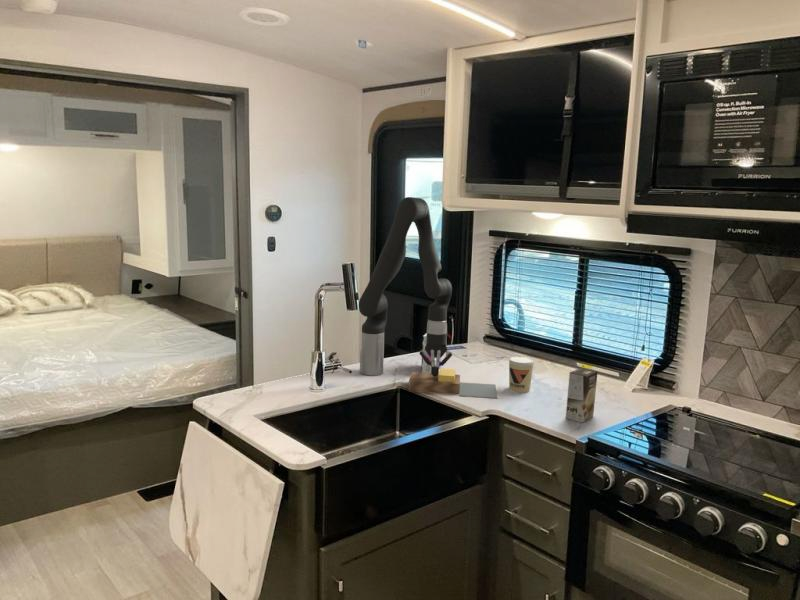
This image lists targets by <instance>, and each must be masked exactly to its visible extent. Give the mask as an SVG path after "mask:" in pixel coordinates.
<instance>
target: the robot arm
mask: <svg viewBox="0 0 800 600" xmlns="http://www.w3.org/2000/svg"><path fill="white" fill-rule="evenodd" d="M413 223H414V224H415V227H416V229H417V232H418V233H417V234H418V246H417V247H418V249H417V253H418V257H419V258H418V259H419V262H420V264H421V267H422V271H423V286H424V287H423V288H424V292H425V294H426V295H427V297H428V298H431V299H434V301H433V302H432V303H431V304H430V305H429V306H428V309H427V310H428V311H427V324H426V333H427V340H426V346H425V349H423V350H422V349H420V351H419V353H418V354H419V355H420V357H421V359H422V358H423V359H424V361H425V362H426V363H427V365H430V366H431V374H432V375H433V376H437V375H438V374H439V371H440V369H439V366H441V367H442V366H444V365H445V364H446V363H447V362H448V361H449V360H450V359H451V357H453V353H452V352H451V351H449V350H448V346H447V333H448V323H447V322H448V321H447V320H448V319H447V317H448V315H447V314H448V307H449V304H450V301H451V298H452V293H453V286H452V282H450V280H449V279H448V278H438V273H439V272H441V271H442V263H441V259H440V257H439V254H438V251H437V247H436V244H435V239H434V233H433V228H432V226H433V225H432V220H431V214H430V207H429V205H428V203H427V201H426V200H425V199H423V198H421V197H413V196H411V197H410V196H409V197H408V196H407V197H404V198H402V199H401V201H399V204H398V206H397V209H396V212H395V215H394V219H393V222H392V224H391V228H390V231H389V233H388V235H387V238H386V241H385V244H384V246H383V247H382V250H381V252H380V254H379V258H378V259H377V263H376V265H375V267H374V269H373V272H372V275H371V277H370V278H369V281H368V284H367V285H366V287H365V289H364V290H363V293H362V294H361V296H360V298H359V300H358V301H359V302H358V310H359V312H360V314H361V315H362V317H365V318H366V319H365V320H364V322H363V323H362V326H361V347H360V348H361V349H360V351H359V353H360V354H359V374H360V375H366V376H380V375H383V374H384V362H385V361H384V360H385V359H384V356H385V355H384V354H385V329H386V326H387V322H388V309H389V308H388V305H389V303H388V300H387V297H386V296H385V294H384V291H385V289H386V288H387V287H388V285H389V284H390V283H391V282H392V280H394V278H395V277H396V275H397V274H398V273H399V271H400V269H401V267H402V264H403V262H404V260H405V258H406V254H407V244H406V242H407V241H406V240H407V235H408V232H409V230H410V228H411V225H412V224H413ZM426 352H427V353H428V355H429V356H430V357H431V361H430V360H429V359H428V357H427V356H426ZM444 355H445V356H444ZM443 356H444V358H443V359H442V357H443ZM435 358H437V360H436V366H435ZM440 358H441V362H440Z"/></svg>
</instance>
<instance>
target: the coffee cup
mask: <svg viewBox="0 0 800 600" xmlns="http://www.w3.org/2000/svg"><path fill="white" fill-rule="evenodd" d="M534 364H535V363H534V360H533V359H532V358H530V357H525V356H513V357H510V358H509V359H508V365H509V366H508V369H509V371H508V373H509V374H508V384H509V387H508V388H509V390H510V391H511V392H512V393H516V394H526V393H530V390H531V384H532V378H533V371H534Z"/></svg>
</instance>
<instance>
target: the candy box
mask: <svg viewBox="0 0 800 600" xmlns="http://www.w3.org/2000/svg"><path fill="white" fill-rule="evenodd" d="M426 340H427V332H426V333H424V335H422V344H421V345H422V346H421V347H422V348H421V350H423V349H425V346H426ZM426 356H427V357H428V359H429V360H430V361H431V357H430V356H429V355H428V353H427V352H426ZM436 360H437V358H435V366H436ZM441 361H442V357H441V358H440V362H441ZM441 367H442V366H439V370H440V369H441ZM420 371H421V373H431V366H430V365H427V363H426V362H425V361H424V359H423V358H422V357H421V369H420Z"/></svg>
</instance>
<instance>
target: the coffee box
mask: <svg viewBox="0 0 800 600" xmlns="http://www.w3.org/2000/svg"><path fill="white" fill-rule="evenodd" d="M597 379H598V370H594V369H588V368H584V367H583V368H582V367H579V368H577V369H575V370H572V371H570V372H569V377H568V387H567V398H566V409H565V419H568V420H572V421H576V422H579V423H584V422H586V421H587V420H589V419H590V418H592V417H594V412H595V403H596V402H595V400H596V392H597V383H598V382H597Z"/></svg>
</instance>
